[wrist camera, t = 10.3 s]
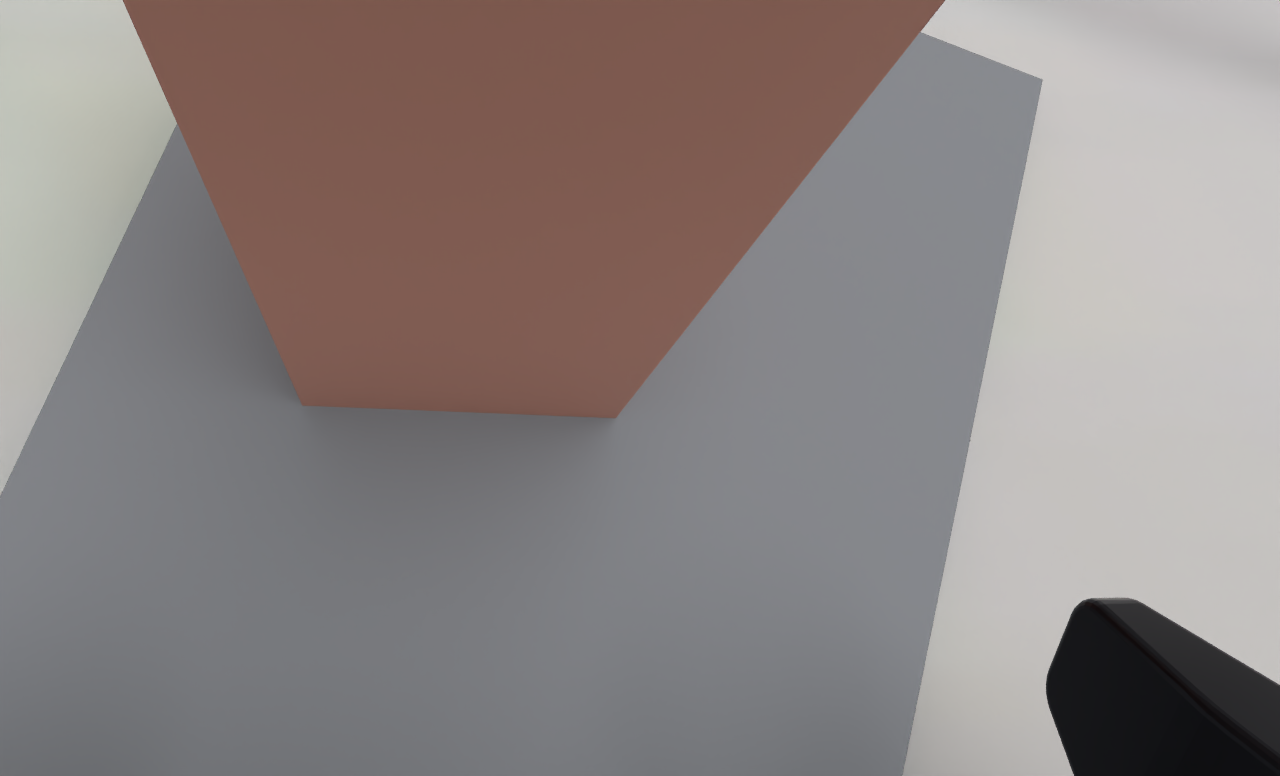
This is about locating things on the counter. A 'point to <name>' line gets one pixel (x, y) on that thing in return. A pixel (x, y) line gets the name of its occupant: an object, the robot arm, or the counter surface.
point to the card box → (504, 175)
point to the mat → (524, 505)
